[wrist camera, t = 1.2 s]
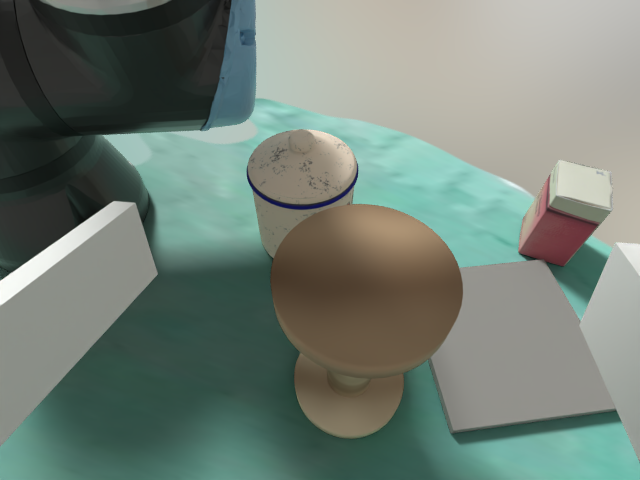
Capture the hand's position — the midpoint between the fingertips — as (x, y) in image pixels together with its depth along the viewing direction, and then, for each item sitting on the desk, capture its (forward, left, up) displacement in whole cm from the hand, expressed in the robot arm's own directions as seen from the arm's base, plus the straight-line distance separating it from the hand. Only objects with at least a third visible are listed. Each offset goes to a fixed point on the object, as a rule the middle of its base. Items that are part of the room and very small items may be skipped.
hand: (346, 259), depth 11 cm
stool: (-4, +2, -21) cm, 21 cm away
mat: (-6, +15, -21) cm, 26 cm away
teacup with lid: (-20, +1, -21) cm, 29 cm away
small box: (-15, +23, -21) cm, 34 cm away
